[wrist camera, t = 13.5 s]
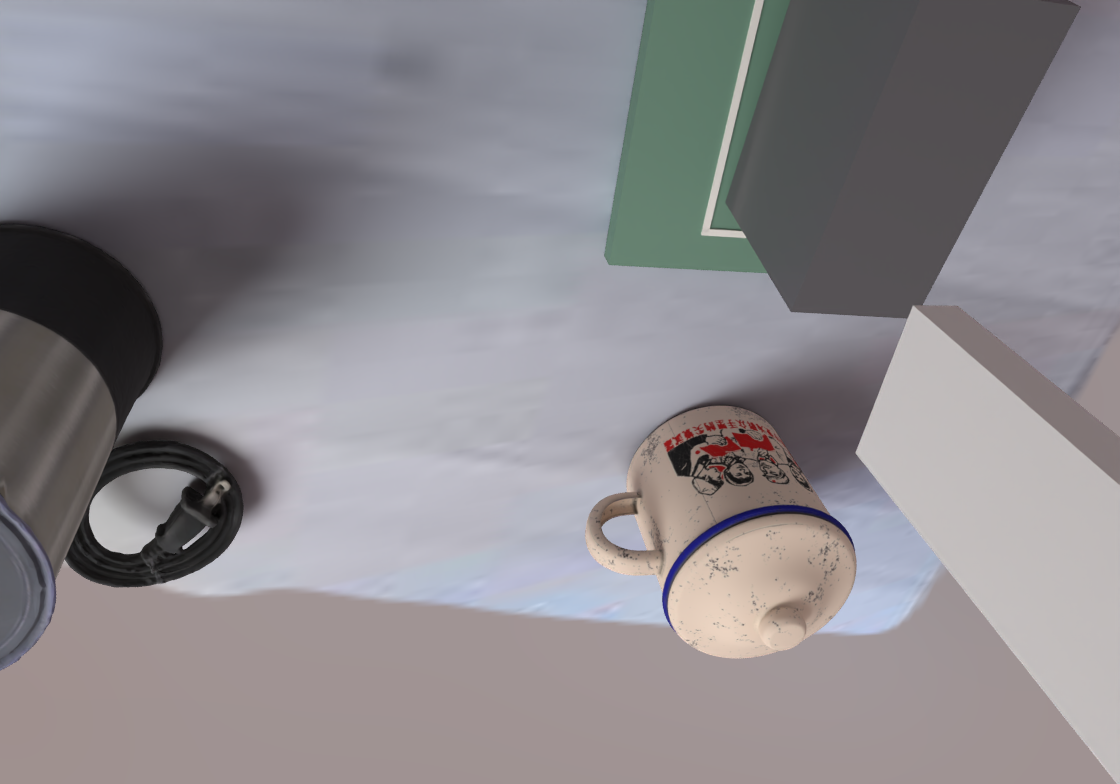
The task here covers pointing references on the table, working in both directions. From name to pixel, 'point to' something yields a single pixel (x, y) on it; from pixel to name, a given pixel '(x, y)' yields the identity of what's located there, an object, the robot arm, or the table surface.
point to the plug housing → (883, 141)
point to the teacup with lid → (729, 535)
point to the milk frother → (83, 431)
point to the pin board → (690, 133)
